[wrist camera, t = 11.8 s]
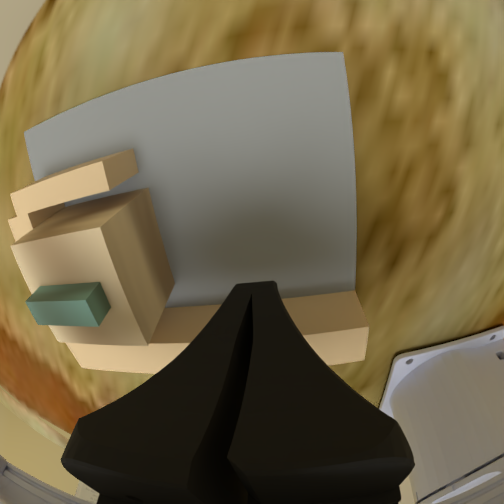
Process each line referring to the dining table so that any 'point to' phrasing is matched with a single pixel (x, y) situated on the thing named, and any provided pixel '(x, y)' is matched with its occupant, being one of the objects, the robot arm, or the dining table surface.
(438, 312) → the dining table surface
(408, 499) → the pill bottle
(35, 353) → the dining table surface
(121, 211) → the cabinet block
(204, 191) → the wall board
